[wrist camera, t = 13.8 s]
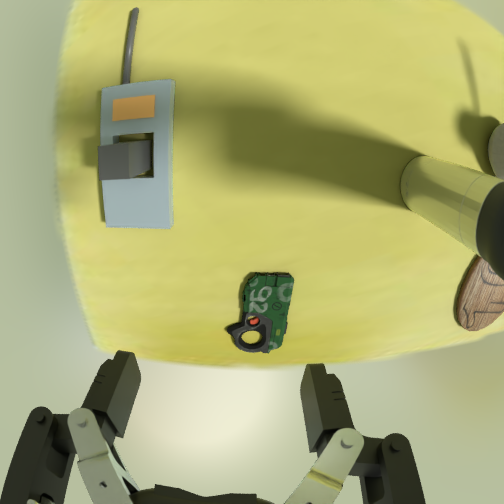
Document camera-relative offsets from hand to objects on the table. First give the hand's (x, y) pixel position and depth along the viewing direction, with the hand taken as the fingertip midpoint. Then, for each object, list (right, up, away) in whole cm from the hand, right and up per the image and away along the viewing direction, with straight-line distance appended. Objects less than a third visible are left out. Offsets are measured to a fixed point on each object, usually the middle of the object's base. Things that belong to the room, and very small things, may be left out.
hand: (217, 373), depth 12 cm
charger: (-14, +19, +22) cm, 32 cm away
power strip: (-14, +25, +19) cm, 34 cm away
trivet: (+57, -1, +33) cm, 66 cm away
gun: (+3, -4, +34) cm, 34 cm away
